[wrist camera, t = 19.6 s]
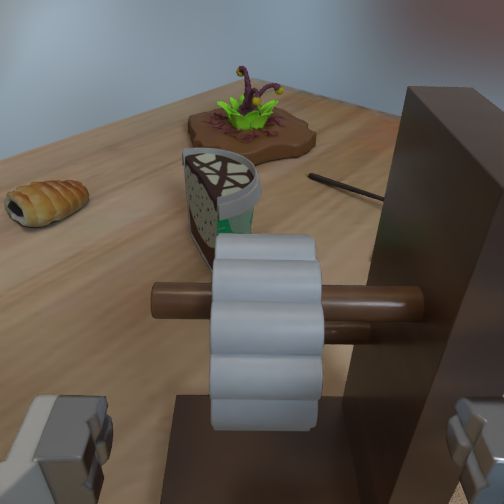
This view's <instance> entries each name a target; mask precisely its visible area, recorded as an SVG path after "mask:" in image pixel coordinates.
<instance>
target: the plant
mask: <svg viewBox="0 0 504 504" xmlns="http://www.w3.org/2000/svg"><path fill="white" fill-rule="evenodd" d="M236 73H237V75H238V76H240V77H241V76H245V93H244V94H243V95H241V96H240V98H239V101H237V100H236V99H234V98H232V97H230V98H229V101H230V103H231V105H232V107H230V106H229V105H228V104H226V103H224V102H218V101H217V104H218V105H219V106H221V108H219V109H214V110H212V111H210V112H203V113H199V114H195V115H191V116H189V119H188V132H189V134H190V135H191V140H192V142H193V147H194V148H214V149H221V150H226V151H230V152H233V153H236V154H239V155H241V156H243V157H245V158H247V159H248V160H249V161H251V162H252V163H253V165H257V164H260V163H263V162H267V161H272V160H277V159H283V158H293V157H300V156H301V155H302V154H305V153H307V152H309V151H310V149H311V148H312V147H314V146H315V144H316V132H313V131H311V130H309V129H308V123H306V122H305V121H303V120H300V119H298V118H296V117H294V116H293V115H291V114H290V113H288V112H287V111H285V110H282V109H279V108H275V107H274V106H275V105H276V104H277V103H278V100H272V101H269V102H267V103H266V104H264V105H263V106H260V103H261V98H260V97H261V95H262V94H263V93H264V92H265V91H266V90H267V89H269V88H271V87H273V88H274V89H275V92H276V94H278V95H280V94H283V87H282V86H281V85H279V84H277V83H275V84H273V83H272V84H267V85H266V86H264V87H263V88H262V89H260V91H258V89H256V88H253V89H251V84H250V82H251V81H250V80H249V76H248V71H247V69H246V68H245V67H244V66H239V67H238V68H237V71H236ZM254 94H255V95H254ZM253 95H254V96H253Z"/></svg>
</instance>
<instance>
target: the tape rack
mask: <svg viewBox="0 0 504 504" xmlns="http://www.w3.org/2000/svg"><path fill="white" fill-rule="evenodd" d="M211 304H212V283H172V282H156V283H154V285H153V287H152V292H151V313H152V317H153V318H155V319H210V316H211ZM321 305H322V309H323V315H324V344H346V345H354V347H353V351H352V356H351V361H350V366H349V371H348V375H347V380H346V385H345V390H344V395H343V397H330V396H321V398H320V399H319V400H318V416H317V422H316V426H315V427H313V428H310V430H309V431H232V430H214V429H213V426H212V425H211V398H210V395H176V401H175V408H174V414H173V421H172V428H171V434H170V441H169V448H168V454H167V461H166V468H165V474H164V481H163V488H162V494H161V501H160V504H448V503H449V501H450V499H451V497H452V495H453V493H454V491H455V489H456V487H457V485H458V483H459V481H460V480H459V477H460V474H461V471H462V469H461V468H460V467H459V466H458V465H457V464H456V463H455V462H454V461H453V460H452V459H451V456H450V453H449V451H448V446H447V442H446V427H447V424H448V422H449V419H450V418H452V417H453V416H455V415H456V414H457V412H456V410H455V404H456V402H457V400H458V399H459V398H461V397H502V396H503V394H504V112H503V111H502V110H501V109H499V108H498V107H497V106H495V105H494V104H493V103H492V102H490V101H489V100H488V99H486V98H485V97H484V96H482V95H481V94H480V93H478V92H477V91H476V90H475V89H473V88H466V87H424V86H408V87H407V92H406V97H405V101H404V106H403V111H402V116H401V121H400V126H399V130H398V135H397V140H396V145H395V150H394V154H393V159H392V164H391V169H390V174H389V178H388V183H387V188H386V193H385V198H384V202H383V207H382V212H381V217H380V222H379V226H378V231H377V236H376V241H375V246H374V250H373V255H372V260H371V265H370V270H369V274H368V279H367V284H366V286H363V285H322V294H321Z"/></svg>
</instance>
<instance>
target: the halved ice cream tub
mask: <svg viewBox="0 0 504 504" xmlns="http://www.w3.org/2000/svg"><path fill="white" fill-rule="evenodd" d="M182 165H184V173H185V184H186V195H187V206H188V217H189V229H190V235H191V237H192V238H193V240H194V242H195V244H196V246H197V247H198V249H199V251H200V253H201V255H202V256H203V258H204V260H205V262H206V264H207V266H208V267H209V269H210V271H211V273H212V271H213V262H214V259H215V241H216V237H217V236H218V235H219V234H220V233H233V234H251V225H252V216H253V207H254V205H255V204H256V203H257V202H258V201H259V199H260V197H261V194H262V189H261V184H260V179H259V175H258V172H257V171H256V168H255V166H254V165H253V163H252V162H251V161H249V160H248V159H247V158H245V157H243V156H241V155H239V154H236V153H233V152H230V151H226V150H221V149H214V148H186V149H183V154H182Z"/></svg>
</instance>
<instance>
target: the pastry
mask: <svg viewBox="0 0 504 504" xmlns="http://www.w3.org/2000/svg"><path fill="white" fill-rule="evenodd" d="M88 200H89V193H88V190H87V189H86V187H85V186H83V184H82V183H81V182H78V181H73V180H66V181H59V180H57V181H45V182H32V183H31V184H30V185H29V186H19V187H17V188H16V190H15V191H13V192H8V193H7V197H6V199H5V209H6V210H7V211H8V212H9V214H10V215H11V218H12V219H13V220H16V221H18V222H20V224H22V225H23V226H27V227H42V226H46V225H49V224H50V223H51V222H52V221H59V220H62V219H64V218H66V216H68V215H72V214H73V213H74V212H76V211H78V210H79V209H81V208H82V207H83V206H84V205H85V204H86V202H87V201H88Z"/></svg>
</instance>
